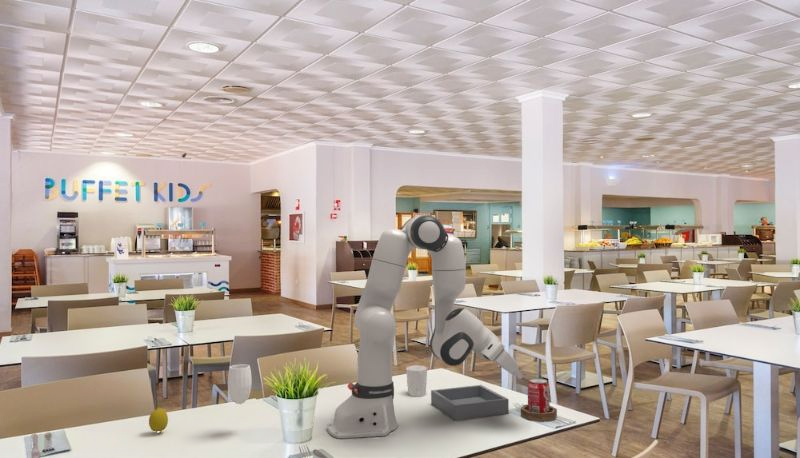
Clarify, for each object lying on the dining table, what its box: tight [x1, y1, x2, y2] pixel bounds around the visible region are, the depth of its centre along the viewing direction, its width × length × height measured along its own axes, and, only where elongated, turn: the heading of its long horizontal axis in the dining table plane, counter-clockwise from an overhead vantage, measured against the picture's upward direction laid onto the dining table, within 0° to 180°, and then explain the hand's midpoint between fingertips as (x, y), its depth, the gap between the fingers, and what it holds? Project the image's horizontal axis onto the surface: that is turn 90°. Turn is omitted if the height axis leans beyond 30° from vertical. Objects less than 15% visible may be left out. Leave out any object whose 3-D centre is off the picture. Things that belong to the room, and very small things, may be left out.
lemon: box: [148, 407, 169, 432], centre depth 188 cm, size 6×6×8 cm
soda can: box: [527, 377, 551, 413], centre depth 201 cm, size 7×7×12 cm
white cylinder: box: [406, 365, 428, 397], centre depth 229 cm, size 8×8×10 cm
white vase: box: [227, 363, 253, 405], centre depth 188 cm, size 7×7×21 cm
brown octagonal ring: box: [520, 404, 558, 423], centre depth 201 cm, size 11×11×2 cm
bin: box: [430, 384, 510, 421], centre depth 210 cm, size 20×20×5 cm
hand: (516, 373), depth 200 cm, fingers open, 8 cm apart
